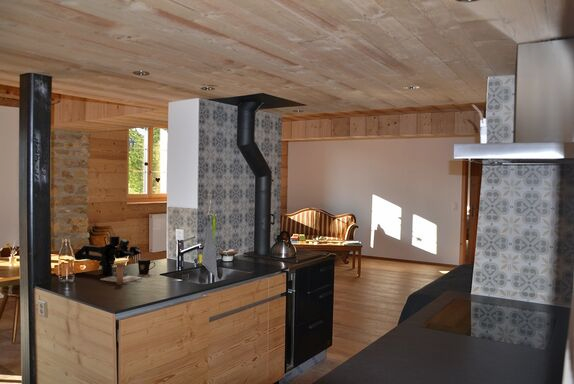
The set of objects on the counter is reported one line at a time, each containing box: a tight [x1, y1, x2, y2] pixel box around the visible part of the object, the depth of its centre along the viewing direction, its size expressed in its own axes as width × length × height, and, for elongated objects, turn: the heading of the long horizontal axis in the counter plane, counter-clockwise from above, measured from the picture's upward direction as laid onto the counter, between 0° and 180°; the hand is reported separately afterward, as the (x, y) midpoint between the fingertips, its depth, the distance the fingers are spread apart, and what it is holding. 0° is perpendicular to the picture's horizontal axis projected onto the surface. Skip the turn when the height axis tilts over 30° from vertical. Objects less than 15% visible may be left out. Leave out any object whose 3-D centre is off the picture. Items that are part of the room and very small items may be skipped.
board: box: [100, 271, 143, 284], centre depth 310 cm, size 20×17×3 cm
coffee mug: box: [137, 258, 156, 276], centre depth 329 cm, size 12×9×10 cm
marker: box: [116, 262, 124, 285], centre depth 295 cm, size 4×4×13 cm
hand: (136, 253), depth 314 cm, fingers open, 9 cm apart
